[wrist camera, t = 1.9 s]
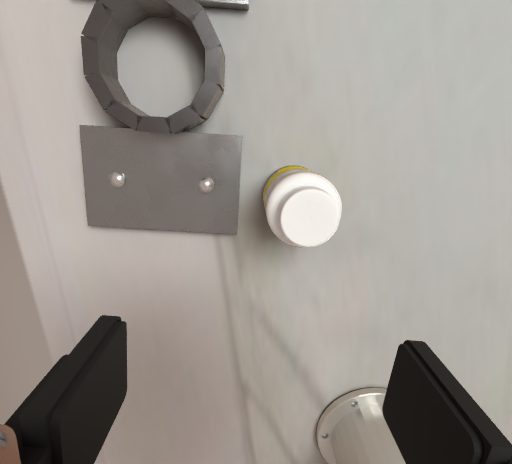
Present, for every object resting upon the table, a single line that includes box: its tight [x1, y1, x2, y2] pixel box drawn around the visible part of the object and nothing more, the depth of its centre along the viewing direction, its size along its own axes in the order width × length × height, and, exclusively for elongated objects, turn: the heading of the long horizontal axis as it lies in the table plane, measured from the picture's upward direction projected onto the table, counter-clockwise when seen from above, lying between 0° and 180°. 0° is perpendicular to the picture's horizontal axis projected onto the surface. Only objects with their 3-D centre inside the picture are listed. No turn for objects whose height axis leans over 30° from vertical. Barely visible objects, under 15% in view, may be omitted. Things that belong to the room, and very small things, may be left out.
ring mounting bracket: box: [80, 0, 249, 234], centre depth 26 cm, size 28×14×4 cm, turn 176°
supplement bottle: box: [263, 166, 342, 247], centre depth 26 cm, size 6×6×10 cm
